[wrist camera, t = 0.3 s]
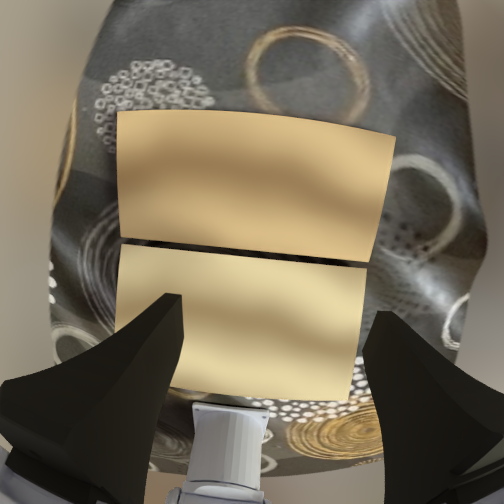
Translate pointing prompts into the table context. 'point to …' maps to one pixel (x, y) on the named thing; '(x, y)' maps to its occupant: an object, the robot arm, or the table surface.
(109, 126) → the table surface
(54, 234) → the table surface
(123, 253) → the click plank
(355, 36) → the table surface
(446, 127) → the table surface
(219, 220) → the laid oak board
